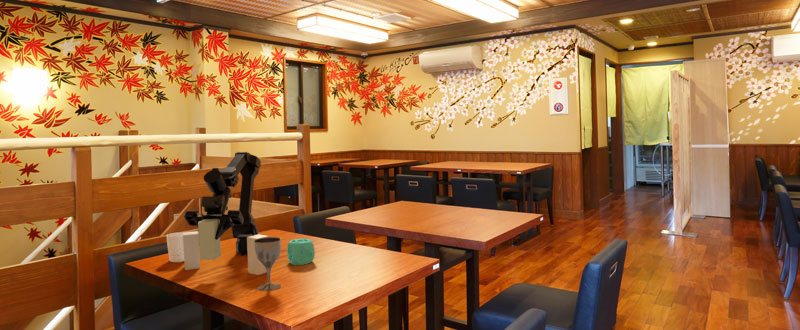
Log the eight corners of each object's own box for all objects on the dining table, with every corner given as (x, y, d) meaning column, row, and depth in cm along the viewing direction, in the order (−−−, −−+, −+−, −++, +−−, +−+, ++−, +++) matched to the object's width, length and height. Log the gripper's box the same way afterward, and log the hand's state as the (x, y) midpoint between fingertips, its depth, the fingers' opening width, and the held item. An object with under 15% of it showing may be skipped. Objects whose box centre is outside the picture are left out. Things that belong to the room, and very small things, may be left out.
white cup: (181, 263, 186) (180, 236, 185) (163, 262, 187) (161, 236, 187) (194, 257, 194) (193, 232, 193) (176, 257, 195) (175, 231, 194)
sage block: (206, 255, 169) (204, 219, 168) (220, 255, 169) (219, 219, 168) (199, 259, 164) (198, 222, 163) (215, 259, 164) (213, 222, 163)
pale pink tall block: (199, 264, 183) (198, 231, 182) (200, 268, 179) (198, 233, 178) (184, 266, 181) (183, 232, 180) (184, 270, 177) (183, 235, 176)
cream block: (259, 269, 176) (258, 234, 175) (269, 271, 173) (268, 235, 172) (248, 272, 172) (246, 237, 171) (258, 275, 169) (257, 238, 168)
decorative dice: (315, 263, 183) (314, 241, 182) (293, 266, 179) (293, 244, 178) (308, 258, 190) (307, 237, 189) (287, 261, 186) (286, 240, 185)
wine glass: (258, 283, 160) (256, 237, 158) (284, 282, 160) (282, 236, 159) (253, 291, 152) (251, 243, 150) (280, 290, 152) (278, 242, 151)
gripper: (184, 187, 169) (170, 226, 159) (239, 186, 168) (228, 225, 158) (196, 206, 177) (183, 244, 167) (248, 205, 177) (238, 243, 166)
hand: (207, 239), depth 164 cm, fingers closed on sage block, 5 cm apart
